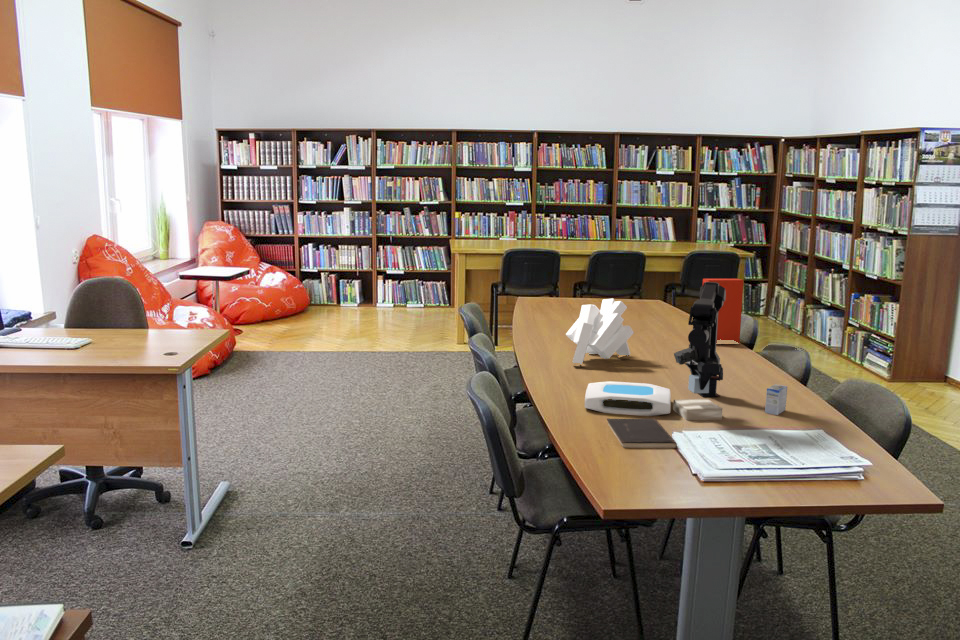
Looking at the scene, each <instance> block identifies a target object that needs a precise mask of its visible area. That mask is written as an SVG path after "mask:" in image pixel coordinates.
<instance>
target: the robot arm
mask: <svg viewBox="0 0 960 640" xmlns="http://www.w3.org/2000/svg"><path fill="white" fill-rule="evenodd" d="M725 299H726V291H725V288H724V287H722V286H720V285H719V283H717V282H704V284H703V283H702V285H701V286H700V289H699V299H697V300H695V301H694V302H693V305H692V306H690V311H689V317H688V326H692V329H691V330H690V332H689V334H688V336H687V339H688V342H689V344H688V348H683V349H681V350H679V351H676V352H674V353H673V356H674V359H675V362H676V363H677V364H678V365H681V366H682V365H685V366H686V367H687V368H688V369H689V371H690V375H699V384H700V390H704V388H705V386H706V385H707V383H708V381H709V393H699V394H700V395H699V394H698V395H699V396H701V397H702V396H703V398H711V397H714V398H715V397H716V398H717V397H718V396H719V397H721V394H719V393H717V386H718V381H719V382H720V381H723V380H724V367H722V363H721V358H720V356H719V354H718V352H717V345H716V343H717V326H718V312H719V310H720V309H721V307H722V306H723V302H724V301H725Z"/></svg>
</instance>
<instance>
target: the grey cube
mask: <svg viewBox="0 0 960 640" xmlns="http://www.w3.org/2000/svg"><path fill="white" fill-rule="evenodd" d="M687 389H688V391H690V392H691V393H692V394H698V393H709V381H708V383H707V385H706V386H705V388H704V390H700V384H699V375H691V374H688V387H687Z"/></svg>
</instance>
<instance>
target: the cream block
mask: <svg viewBox="0 0 960 640" xmlns="http://www.w3.org/2000/svg"><path fill="white" fill-rule="evenodd" d="M672 404H673V405H672V408H673V409H672V411H674V412H675V413H676V414H678V415H679V416H680V417H681V418H683V419H684V420H685V421H711V420H712V421H713V420H723V407H720V406H719V405H717V404H716V403H715V402H713V401H711V400H710V399H708V398H696V399H695V398H690V399H683V398H682V399H673V403H672Z"/></svg>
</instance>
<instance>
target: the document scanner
mask: <svg viewBox="0 0 960 640" xmlns="http://www.w3.org/2000/svg"><path fill="white" fill-rule="evenodd" d="M608 399H612V400H611V401H616V400H628V401H627V402H631V401H638V402H637V403H643V402H647V403H646V404H650V403H651V404H650V405H651V406H652V407H651V408H649V409H647V408H645V409H639V408H623V407H612V406H605V405H604V403H603V402H605V401H604V400H607V401H609V400H608ZM671 405H672V403H671V389H670V388H667V387H663V386H659V385H656V384H652V383H643V382H627V381H625V382H624V381H599V382H589V383H588V384H587V387H586V390H585V395H584V408H585V409H589V410H593V411H597V412H599V413H603V414H613V415H629V416H630V415H631V416H640V417H641V416H642V417H652V416H660V415H668V414H670V413H671Z"/></svg>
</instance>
